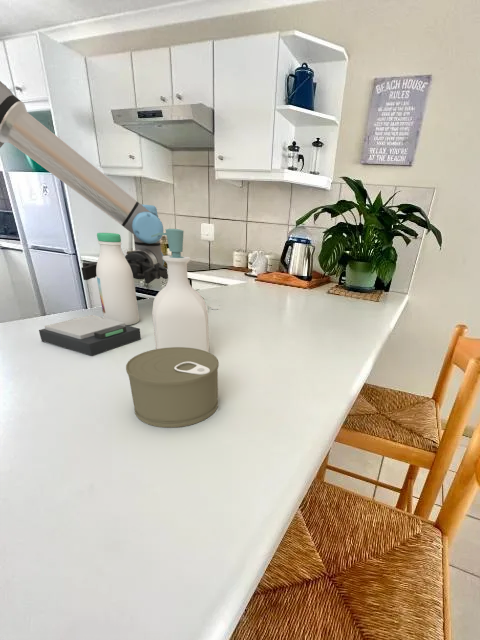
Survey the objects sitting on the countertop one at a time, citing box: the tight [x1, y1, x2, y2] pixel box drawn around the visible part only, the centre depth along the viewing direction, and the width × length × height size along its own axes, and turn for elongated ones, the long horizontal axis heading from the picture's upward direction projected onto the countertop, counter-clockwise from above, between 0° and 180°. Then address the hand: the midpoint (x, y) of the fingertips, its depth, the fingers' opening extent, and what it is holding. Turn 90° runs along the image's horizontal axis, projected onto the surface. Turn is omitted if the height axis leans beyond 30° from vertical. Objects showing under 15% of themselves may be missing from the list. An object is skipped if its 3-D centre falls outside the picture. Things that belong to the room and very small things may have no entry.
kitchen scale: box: [38, 314, 142, 357], centre depth 67 cm, size 14×12×3 cm
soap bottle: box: [151, 228, 210, 353], centre depth 59 cm, size 10×10×23 cm
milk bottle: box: [96, 232, 140, 326], centre depth 75 cm, size 8×8×20 cm
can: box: [125, 347, 220, 429], centre depth 46 cm, size 12×12×7 cm
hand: (115, 275), depth 75 cm, fingers open, 13 cm apart
